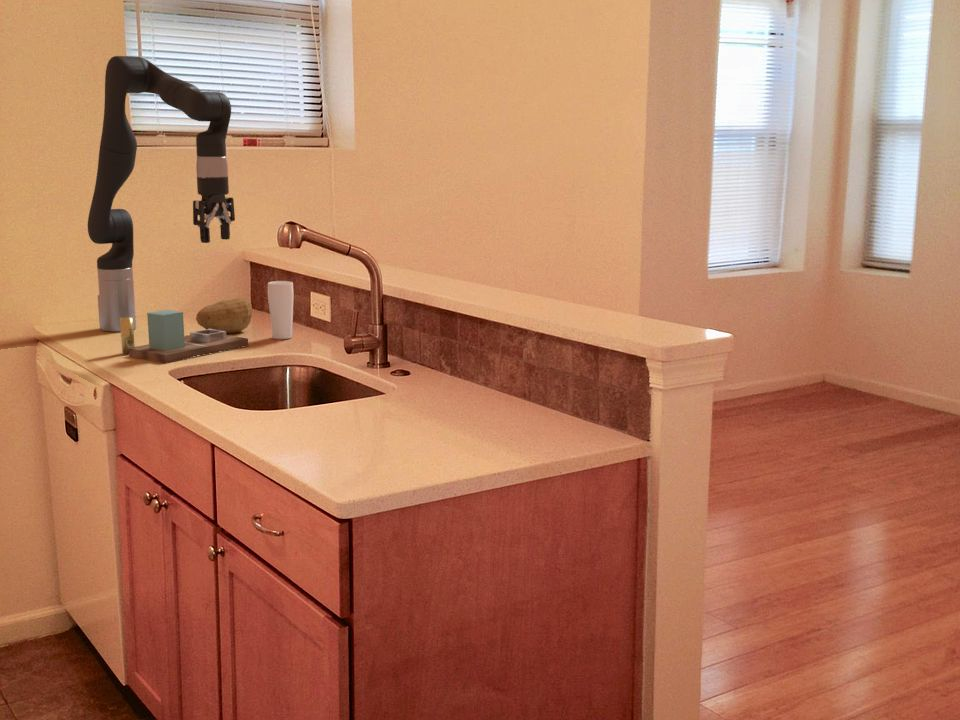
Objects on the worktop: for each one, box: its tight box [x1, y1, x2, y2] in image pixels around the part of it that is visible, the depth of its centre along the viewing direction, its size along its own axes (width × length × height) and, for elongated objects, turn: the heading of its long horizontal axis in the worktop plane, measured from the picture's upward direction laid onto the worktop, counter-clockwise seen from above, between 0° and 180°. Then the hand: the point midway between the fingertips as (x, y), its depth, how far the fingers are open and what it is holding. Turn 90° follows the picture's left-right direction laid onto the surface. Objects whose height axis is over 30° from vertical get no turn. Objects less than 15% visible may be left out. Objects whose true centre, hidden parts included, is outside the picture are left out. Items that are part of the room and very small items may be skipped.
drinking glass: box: [267, 280, 295, 340], centre depth 287 cm, size 7×7×15 cm
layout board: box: [129, 329, 249, 364], centre depth 271 cm, size 14×26×8 cm, turn 144°
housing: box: [146, 309, 185, 351], centre depth 265 cm, size 6×6×9 cm
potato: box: [195, 297, 253, 334], centre depth 295 cm, size 9×16×9 cm, turn 117°
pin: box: [120, 317, 136, 355], centre depth 268 cm, size 3×3×9 cm
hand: (215, 241), depth 269 cm, fingers open, 8 cm apart
